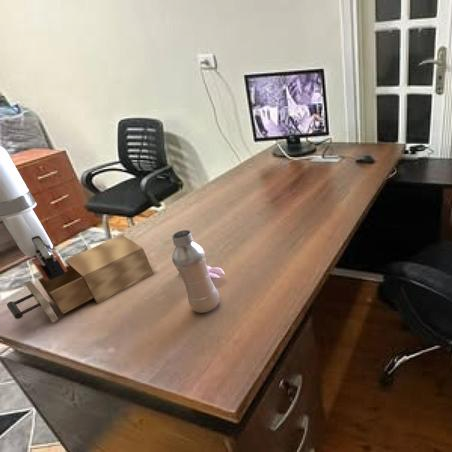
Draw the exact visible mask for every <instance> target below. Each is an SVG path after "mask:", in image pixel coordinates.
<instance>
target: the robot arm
mask: <svg viewBox="0 0 452 452" xmlns="http://www.w3.org/2000/svg"><path fill="white" fill-rule="evenodd" d="M23 179H24V178H22V175H21V174H20V171H19V170H18V169H17V167H16V165H15V163H14V162H13V160H12V158H11V156H10V155H9V153H8V151H7V149H5V148H4V146H1V145H0V219H1V220H2V222H3V224H4V226H5V227H6V230H7V231H8V232H9V234H10V236H11V237H12V239H13V240H14V242H15V243H16V245H17V247H18V249H19V250H20V251H21V253H23V254H24V255H25V256H26V258H29V259H35V258H38V260H39V261H40V263H41V264H42V265H41V267H42V269H43V270H44V272H45V274H46V275H47V277H48V278H49V279H50V280H52V279H54V278H56V277H58V276H60V275H62V274H64V273H65V272H64V270H63V268H62V267H61V265H60V263H59V261H58V260H57V259H56V258H55V256H54V255H53V253H52V252H51V251H52V249H53V248H54V245H53V243H52V241H51V239H50V237H49V236H48V234H47V232H46V230H45V229H44V226H43V225H42V223H41V221H40V219H39V218H38V216H37V214H36V213H35V211H34V208H36V207H37V202H36V200H35V198H34V197H33V195H32V193H31V191H30V189H29V188H28V186H27V184H26V183H25V181H24V180H23ZM40 256H43V257H42V258H41V257H40Z"/></svg>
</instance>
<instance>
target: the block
mask: <svg viewBox="0 0 452 452" xmlns="http://www.w3.org/2000/svg"><path fill="white" fill-rule="evenodd" d="M51 252H52V253H53V255H54V256H55V258H56V259H57V260H58V261H59V263H60V265H61V267H62V268H63V270H64V272H67V269H66V268H65V264H64V263H63V261H62V259H61V257H60V256H59V255H58V254H57V253H56V252H55V251H54V250H51ZM40 257H41V258H42V257H43V256H40ZM31 262H32V264H33V265H34V268H36V270H37V271H38V273H39V274H40V276H41V277H43V278H44V279H45V280H46V281H48V280H50V279H49V278H48V277H47V275H46V274H45V272H44V270H43V269H42V267H41V265H42V264H41V263H40V261H39V260H38V258H37V257H36V258H32V259H31Z"/></svg>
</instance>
